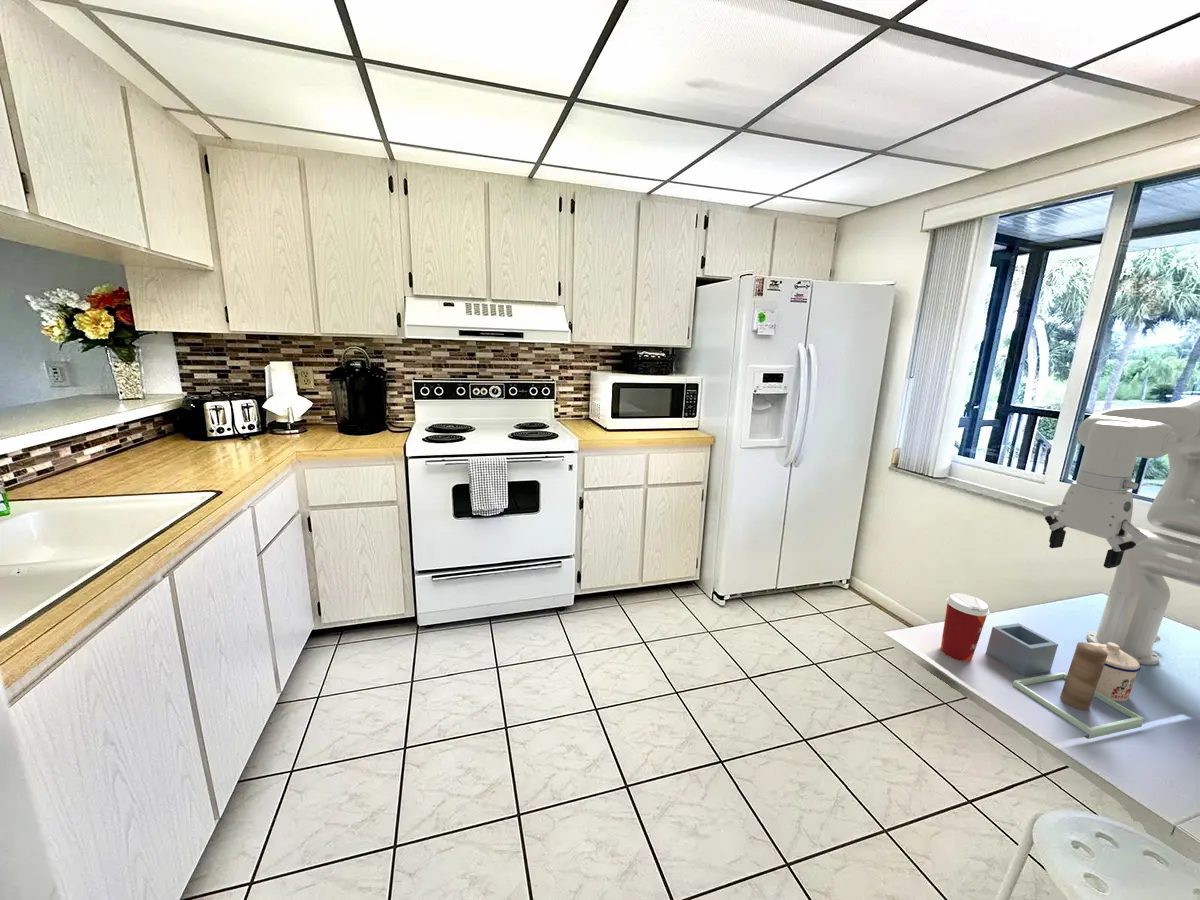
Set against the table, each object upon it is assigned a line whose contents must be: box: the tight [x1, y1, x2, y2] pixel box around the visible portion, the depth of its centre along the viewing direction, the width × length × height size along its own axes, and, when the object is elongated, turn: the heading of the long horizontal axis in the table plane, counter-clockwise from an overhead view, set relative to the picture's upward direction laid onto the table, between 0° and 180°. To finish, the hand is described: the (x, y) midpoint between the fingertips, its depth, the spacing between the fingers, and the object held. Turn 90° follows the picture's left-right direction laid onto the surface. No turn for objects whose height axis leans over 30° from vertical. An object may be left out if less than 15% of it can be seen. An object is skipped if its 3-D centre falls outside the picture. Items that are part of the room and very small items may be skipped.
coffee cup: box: [940, 592, 991, 663], centre depth 114 cm, size 8×8×15 cm
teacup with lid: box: [1087, 642, 1141, 702], centre depth 105 cm, size 12×9×12 cm
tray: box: [1012, 671, 1145, 740], centre depth 100 cm, size 15×14×2 cm
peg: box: [1059, 641, 1108, 711], centre depth 99 cm, size 4×4×13 cm
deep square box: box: [985, 623, 1059, 676], centre depth 113 cm, size 8×8×8 cm
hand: (1081, 556), depth 103 cm, fingers open, 9 cm apart
